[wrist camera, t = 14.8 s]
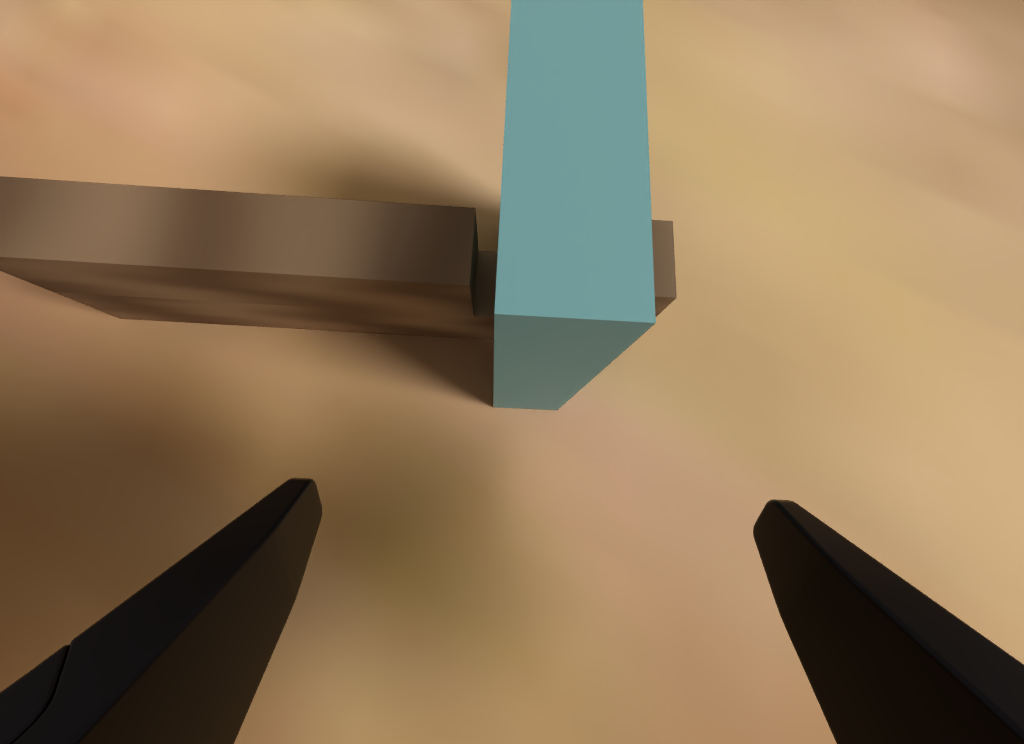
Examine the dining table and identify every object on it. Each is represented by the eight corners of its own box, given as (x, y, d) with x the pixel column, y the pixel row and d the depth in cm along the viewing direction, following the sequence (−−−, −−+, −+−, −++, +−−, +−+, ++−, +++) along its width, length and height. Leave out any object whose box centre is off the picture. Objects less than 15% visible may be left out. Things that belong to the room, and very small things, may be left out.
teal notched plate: (557, 410, 16) (656, 322, 6) (493, 407, 16) (494, 313, 6) (560, 227, 18) (640, -57, 8) (502, 224, 18) (515, -68, 8)
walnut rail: (622, 290, 17) (672, 221, 12) (623, 346, 17) (676, 297, 12) (136, 260, 17) (-11, 175, 12) (120, 318, 16) (-42, 254, 11)
